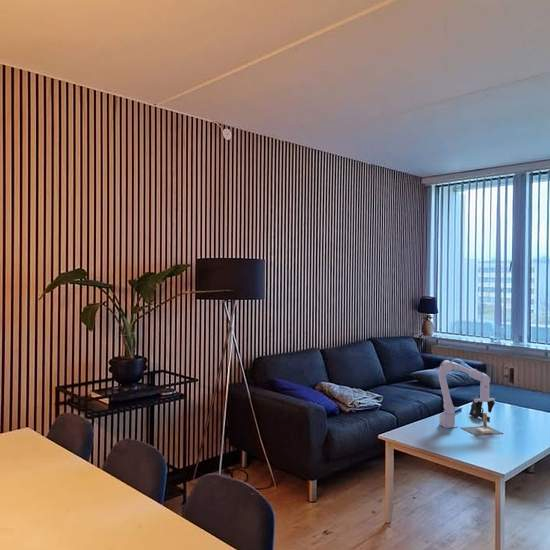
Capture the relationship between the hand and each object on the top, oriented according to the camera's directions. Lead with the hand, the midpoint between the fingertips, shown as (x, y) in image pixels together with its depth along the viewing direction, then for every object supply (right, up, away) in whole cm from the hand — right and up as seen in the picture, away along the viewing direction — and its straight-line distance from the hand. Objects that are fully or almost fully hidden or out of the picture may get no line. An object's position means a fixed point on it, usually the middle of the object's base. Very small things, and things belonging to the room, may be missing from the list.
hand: (484, 412), depth 326 cm
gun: (+6, -11, +23) cm, 26 cm away
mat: (-5, -10, -6) cm, 13 cm away
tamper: (0, -10, 0) cm, 10 cm away
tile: (-5, -9, -6) cm, 12 cm away
